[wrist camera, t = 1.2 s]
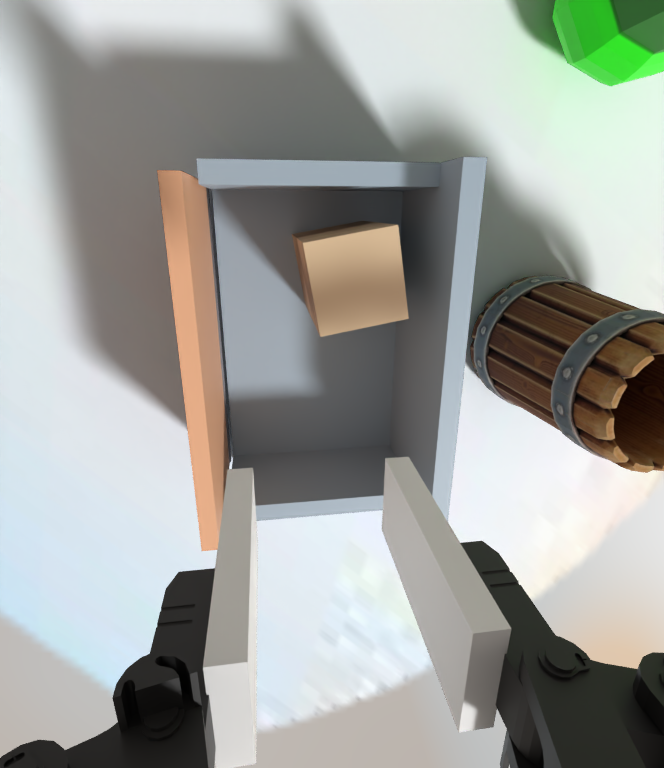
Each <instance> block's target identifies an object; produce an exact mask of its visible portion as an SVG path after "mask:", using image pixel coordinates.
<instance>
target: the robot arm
mask: <svg viewBox="0 0 664 768" xmlns="http://www.w3.org/2000/svg"><path fill="white" fill-rule="evenodd" d="M382 531H383V534H384V536H385V539H386V542H387V544H388V547H389V550H390V552H391V555H392V558H393V560H394V563H395V566H396V568H397V571H398V573H399V576H400V579H401V581H402V584H403V587H404V589H405V592H406V595H407V597H408V600H409V602H410V605H411V608H412V610H413V613H414V616H415V618H416V621H417V624H418V626H419V629H420V631H421V634H422V637H423V639H424V642H425V645H426V647H427V650H428V653H429V655H430V658H431V661H432V663H433V666H434V668H435V671H436V674H437V676H438V679H439V682H440V684H441V687H442V690H443V692H444V695H445V697H446V700H447V703H448V705H449V708H450V710H451V713H452V716H453V719H454V721H455V724H456V726H457V729H458V732H464V731H471V730H477V729H484V728H490V727H493V726H494V721H495V715H496V710H497V709H498V711H499V713H500V715H501V717H502V720H503V722H504V724H505V726H506V728H507V732H506V736H505V741H504V747H503V752H502V757H501V762H500V766H501V767H500V768H508V767H509V764H510V768H664V653H651V654H648V655H646V656H644V657H643V658H642V660H641V663H640V664H639V667H638V669H633V668H627V667H622V666H616V665H610V664H604V663H600V662H596V661H592V660H590V658H589V657H588V656H587V654H586V653H585V652H584V651H582V650H581V649H580V648H579V647H577V646H576V645H575V644H573V643H572V642H569V641H568V640H565V639H564V638H561V637H558V636H556V635H555V634H554V633H553V631H552V630H551V628H550V627H549V625H548V624H547V622H546V621H545V620H544V618H543V617H542V615H541V614H540V613H539V611H538V610H537V608H536V607H535V605H534V604H533V602H532V601H531V599H530V598H529V596H528V595H527V594H526V592H525V591H524V589H523V588H522V586H521V585H519V584H518V581H517V579H516V578H515V576H514V575H513V573H512V572H510V570H509V568H508V566H507V565H506V563H505V562H504V560H503V559H502V557H501V556H500V555H499V553H497V552H496V551H495V550H494V549H492V548H491V547H490V546H488V545H487V544H486V543H484V542H483V541H476V542H465V543H460V542H459V540H458V539H457V537H456V535H455V534H454V532H453V530H452V529H451V527H450V525H449V523H448V522H447V520H446V518H445V517H444V515H443V513H442V512H441V510H440V508H439V507H438V505H437V503H436V502H435V500H434V498H433V497H432V495H431V493H430V492H429V490H428V488H427V487H426V485H425V483H424V482H423V480H422V478H421V477H420V475H419V473H418V472H417V470H416V468H415V467H414V465H413V463H412V462H411V460H410V458H409V457H397V458H385V476H384V497H383V517H382ZM257 575H258V537H257V522H256V506H255V491H254V476H253V468H242V469H228V470H227V478H226V486H225V494H224V502H223V510H222V518H221V526H220V534H219V542H218V550H217V558H216V566H215V568H214V569H204V570H193V571H183V572H178V574H177V575H176V576H175V578H174V579H173V580H172V582H171V583H170V584H169V586H168V587H167V588H166V591H165V595H164V599H163V603H162V607H161V612H160V615H159V619H158V623H157V628H156V631H155V635H154V639H153V643H152V647H151V651H150V654H148V655H146V656H144V657H142V658H140V659H139V660H137V661H136V662H135V663H134V664H132V665H131V666H130V667H129V668H127V669H126V671H125V672H124V674H123V675H122V676H121V678H120V679H119V681H118V682H117V684H116V688H115V691H114V695H113V702H114V706H115V711H116V715H117V719H118V723H116V724H115V725H114V726H113V727H111V728H110V729H109V730H107V731H105V732H103V733H101V734H100V735H98V736H96V737H94V738H91V739H89V740H87V741H85V742H82V743H80V744H78V745H76V746H74V747H71V748H69V749H67V750H64V749H63V748H62V747H61V746H60V745H58V744H57V743H56V742H54V741H47V740H37V741H33V742H30V743H26V744H23V745H20V746H19V747H17V748H15V749H14V750H12V751H10V752H8V753H7V754H5V755H3V756H2V757H1V758H0V768H214V763H215V764H216V768H232V767H239V766H244V765H252V764H256V710H257Z"/></svg>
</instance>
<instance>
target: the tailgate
mask: <svg viewBox="0 0 664 768" xmlns="http://www.w3.org/2000/svg"><path fill="white" fill-rule="evenodd" d="M157 173H158V181H159V190H160V198H161V207H162V215H163V224H164V232H165V241H166V249H167V258H168V267H169V275H170V284H171V292H172V301H173V309H174V318H175V326H176V335H177V343H178V352H179V360H180V369H181V377H182V386H183V394H184V403H185V411H186V420H187V429H188V437H189V446H190V454H191V463H192V471H193V480H194V488H195V497H196V505H197V514H198V522H199V531H200V539H201V548H202V551H208V550H218V542H219V534H220V526H221V518H222V510H223V502H224V494H225V486H226V478H227V470H228V469H229V464H230V462H231V451H230V439H229V427H228V415H227V403H226V391H225V379H224V367H223V355H222V343H221V331H220V319H219V307H218V295H217V283H216V271H215V259H214V247H213V235H212V223H211V210H210V198H209V188H207V187H204V186H201V185H199V182H198V178H195V177H193V176H191V175H189V174H187V173H185V172H183V171H174V170H157Z"/></svg>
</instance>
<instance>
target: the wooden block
mask: <svg viewBox="0 0 664 768" xmlns="http://www.w3.org/2000/svg"><path fill="white" fill-rule="evenodd" d="M292 238H293V243H294V248H295V253H296V258H297V264H298V269H299V274H300V279H301V284H302V289H303V294H304V300H305V305H306V307H307V309H308V311H309V314H310V316H311V318H312V320H313V322H314V324H315V326H316V328H317V331H318V333H319V335H320V337H323V336H328V335H332V334H337V333H342V332H347V331H352V330H357V329H361V328H366V327H371V326H376V325H381V324H386V323H390V322H395V321H400V320H405V319H409V317H408V308H407V299H406V290H405V281H404V272H403V263H402V254H401V245H400V236H399V227H398V225H396V224H387V223H379V222H370V221H358V222H353V223H347V224H342V225H337V226H332V227H326V228H321V229H316V230H310V231H305V232H300V233H295V234H292Z"/></svg>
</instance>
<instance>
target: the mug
mask: <svg viewBox="0 0 664 768" xmlns="http://www.w3.org/2000/svg"><path fill="white" fill-rule="evenodd" d="M471 337H472V338H473V342H472V344H471V346H470V348H471V359H472V363H473V367H474V368H476V369H477V372H478V376H479V378H480V379H481V380H482V382H483V383H484V384H485V386H486V387H487V388H488V389H489V390H491V391H492V392H493V393H494V394H496V395H497V396H498V397H500V398H502V399H503V400H505V401H507V402H508V403H510V404H513V405H516V406H519V407H521V408H523V409H525V410H527V411H528V412H530V413H532V414H533V415H535V416H537V417H538V418H540V419H542V420H543V421H545V422H547V423H548V424H550V425H552V426H553V427H555V428H557V429H558V430H560V431H561V432H562V433H563V434H564V435H565V436H566V437H568V438H569V439H570V440H571V441H573V442H574V443H575V444H577V445H579V446H580V447H582V448H584V449H585V450H587V451H589V452H590V453H592V454H594V455H596V456H599V457H602V458H605V459H607V460H610V461H612V462H614V463H616V464H618V465H619V466H621V467H623V468H626V469H629V470H631V471H638V472H645V473H648V472H650V471H652V470H659V471H664V314H662V313H659V312H657V311H651V310H642V309H639V308H637V307H634V306H631V305H629V304H626V303H623V302H620V301H618V300H615V299H612V298H610V297H607V296H604V295H601V294H599V293H596V292H593V291H592V290H591V289H589V288H587V287H585V286H583V285H581V284H579V283H576V282H574V281H571V280H568V279H566V278H563V277H556V276H548V275H545V276H539V277H537V276H532V277H527V278H523V279H520V280H518V281H515V282H513V283H512V284H511V285H510V286H509V287H508V288H507V289H504V288H503V289H502V290H500V291H499V292H498V293H497V294H496V295H494V296H493V297H492V299H491V300H490V301H489V302H488V303H487V304H486V306H485V309H484V312H482V313H481V314H480V315H479V317H478V319H477V321H476V323H475V326H474V329H473V333H472V336H471Z"/></svg>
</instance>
